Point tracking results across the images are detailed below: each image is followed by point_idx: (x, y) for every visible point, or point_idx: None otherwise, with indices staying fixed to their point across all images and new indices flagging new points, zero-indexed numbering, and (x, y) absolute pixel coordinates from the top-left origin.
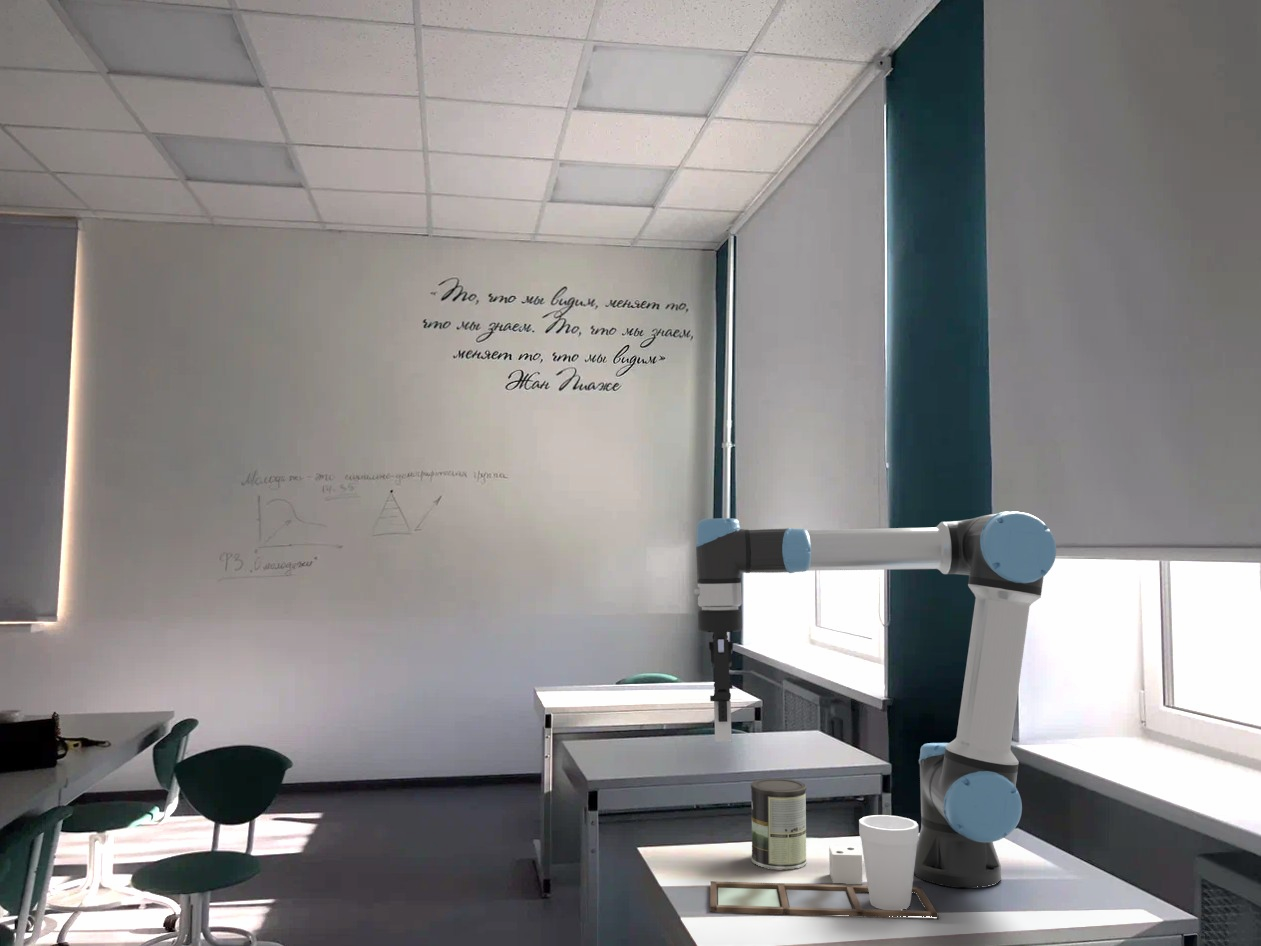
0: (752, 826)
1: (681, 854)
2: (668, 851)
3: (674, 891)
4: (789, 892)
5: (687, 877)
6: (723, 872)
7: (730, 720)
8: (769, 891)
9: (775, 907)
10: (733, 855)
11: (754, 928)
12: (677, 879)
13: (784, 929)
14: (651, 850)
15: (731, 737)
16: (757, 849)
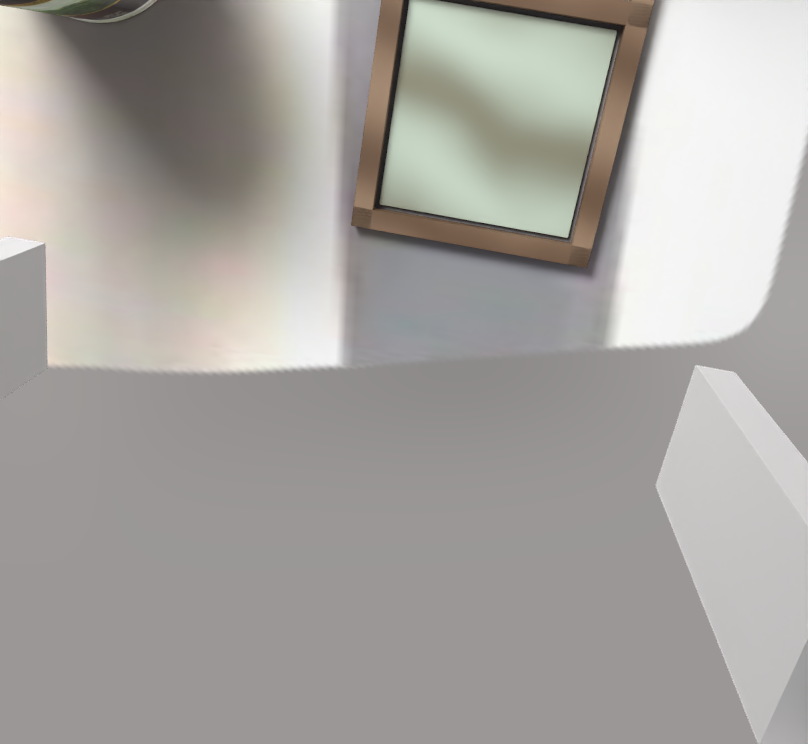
0: (34, 8)
1: None
2: None
3: (394, 339)
4: None
5: (267, 281)
6: (216, 153)
7: (801, 461)
8: (431, 29)
9: (628, 53)
10: (27, 79)
11: (743, 155)
12: (285, 314)
13: (774, 57)
14: None
15: (744, 386)
16: (116, 4)
